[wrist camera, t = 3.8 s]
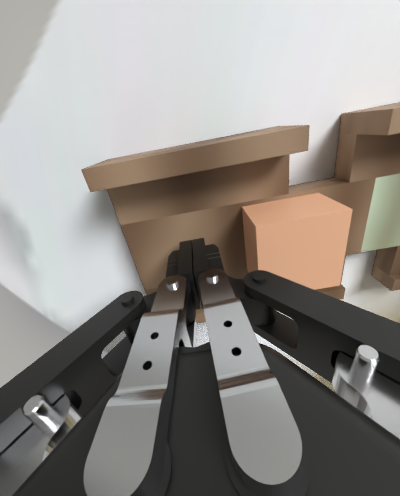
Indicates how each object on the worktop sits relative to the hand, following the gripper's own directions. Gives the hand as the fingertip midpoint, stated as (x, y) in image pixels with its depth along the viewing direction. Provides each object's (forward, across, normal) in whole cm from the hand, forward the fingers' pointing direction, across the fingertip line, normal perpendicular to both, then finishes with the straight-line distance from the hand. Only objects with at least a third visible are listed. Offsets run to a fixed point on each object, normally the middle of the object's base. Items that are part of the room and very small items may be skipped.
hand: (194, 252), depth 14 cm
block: (+1, -6, 0) cm, 6 cm away
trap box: (+2, -6, 0) cm, 6 cm away
